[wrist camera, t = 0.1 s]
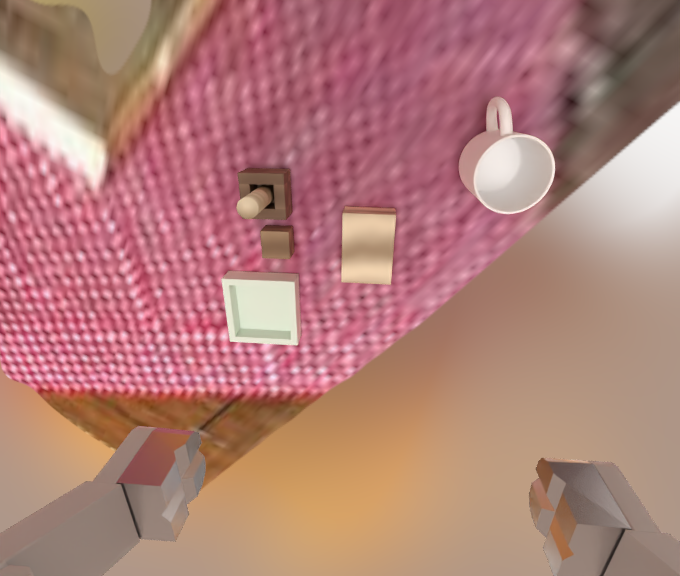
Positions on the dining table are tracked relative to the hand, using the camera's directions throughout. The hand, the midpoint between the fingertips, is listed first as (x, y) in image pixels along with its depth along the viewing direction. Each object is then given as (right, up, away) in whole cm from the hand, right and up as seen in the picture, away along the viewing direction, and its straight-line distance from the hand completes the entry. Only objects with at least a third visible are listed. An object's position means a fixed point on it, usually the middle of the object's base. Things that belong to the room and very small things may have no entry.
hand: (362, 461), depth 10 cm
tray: (-12, +2, +54) cm, 55 cm away
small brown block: (-9, +12, +49) cm, 51 cm away
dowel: (-10, +18, +45) cm, 50 cm away
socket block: (-10, +18, +46) cm, 50 cm away
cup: (+19, +22, +41) cm, 50 cm away
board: (+4, +11, +48) cm, 49 cm away
